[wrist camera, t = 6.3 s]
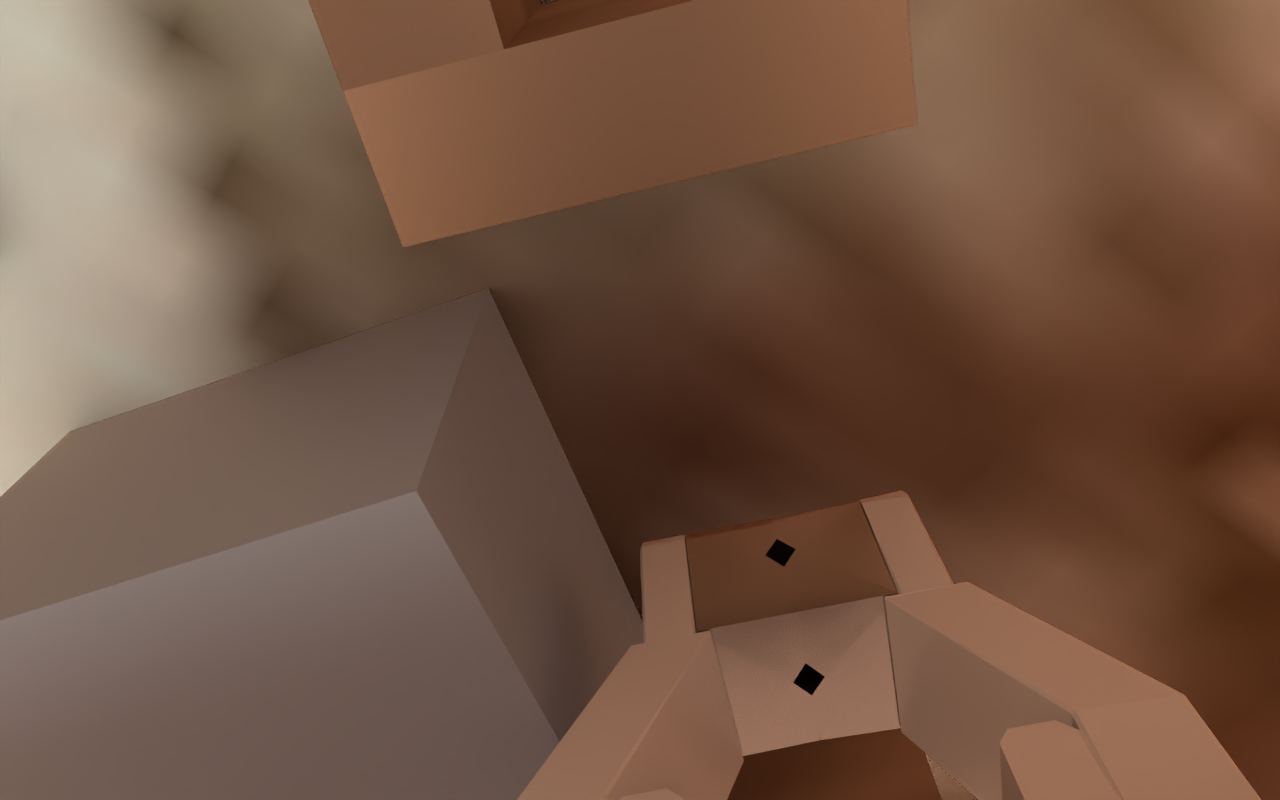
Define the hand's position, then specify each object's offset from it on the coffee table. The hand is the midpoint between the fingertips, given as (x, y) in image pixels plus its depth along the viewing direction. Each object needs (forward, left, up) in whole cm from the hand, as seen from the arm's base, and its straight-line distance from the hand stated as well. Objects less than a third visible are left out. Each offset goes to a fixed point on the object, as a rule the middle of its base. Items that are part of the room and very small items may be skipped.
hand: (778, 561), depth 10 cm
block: (+5, 0, -2) cm, 6 cm away
